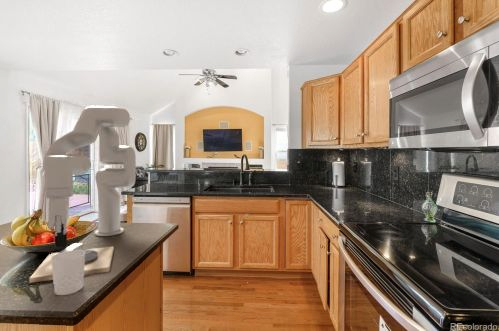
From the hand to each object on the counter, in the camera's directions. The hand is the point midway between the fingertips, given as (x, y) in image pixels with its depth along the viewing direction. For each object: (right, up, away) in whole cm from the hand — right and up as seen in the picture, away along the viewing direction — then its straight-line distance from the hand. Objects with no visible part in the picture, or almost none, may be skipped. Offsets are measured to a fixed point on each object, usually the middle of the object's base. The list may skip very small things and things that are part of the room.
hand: (61, 245), depth 90 cm
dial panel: (+4, -7, +3) cm, 9 cm away
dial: (+4, -5, +2) cm, 7 cm away
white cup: (+12, -8, -14) cm, 21 cm away
